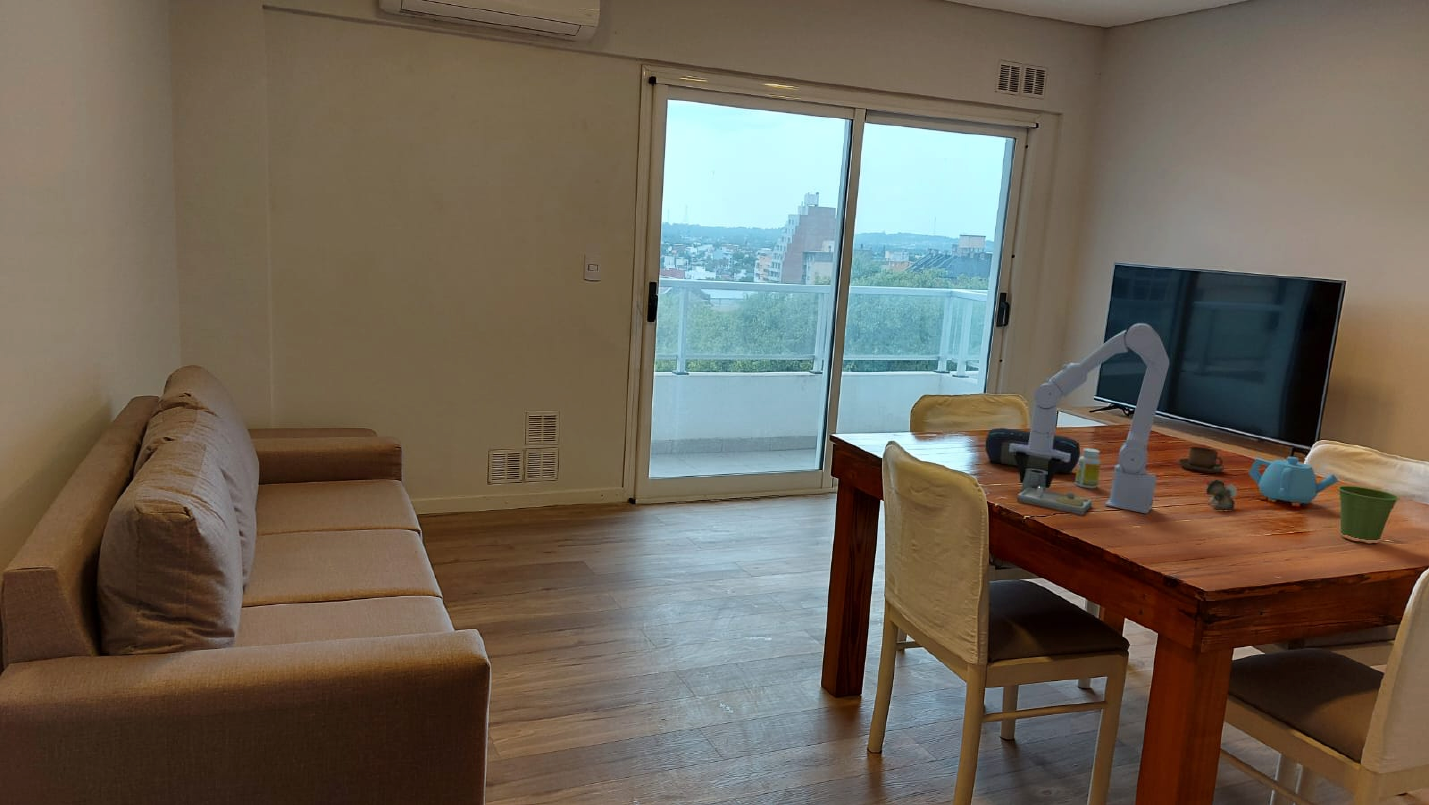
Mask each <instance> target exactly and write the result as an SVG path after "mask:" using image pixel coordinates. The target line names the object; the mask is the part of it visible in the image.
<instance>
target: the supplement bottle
mask: <svg viewBox="0 0 1429 805" xmlns="http://www.w3.org/2000/svg"><path fill="white" fill-rule="evenodd" d="M1099 456H1100V450H1098V449H1094V448H1087V447H1086V448H1083V449H1082V455H1081V456H1080V457H1079V460H1078V463H1077V469H1076V474H1075V482H1074V484H1075V485H1076V486H1078V487H1081V488H1085V489H1096V488H1097V487H1098V481H1099V475H1100V469H1101V463H1102V462H1101V460H1100V458H1098V457H1099Z"/></svg>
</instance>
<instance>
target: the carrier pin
mask: <svg viewBox="0 0 1429 805" xmlns="http://www.w3.org/2000/svg"><path fill="white" fill-rule="evenodd" d="M1043 489H1044V487H1041V486H1038V488H1037V495H1036V497H1038V498H1042V496H1043Z"/></svg>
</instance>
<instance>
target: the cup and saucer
mask: <svg viewBox="0 0 1429 805" xmlns="http://www.w3.org/2000/svg"><path fill="white" fill-rule="evenodd" d="M1218 454H1219V451H1218V450H1215V449H1212V448H1207V447H1202V446H1191V447H1190V448H1189V452H1188V458H1181V459H1179V460H1178V462H1179V464H1180V465H1181V466H1182V467H1184V468H1186V469H1188V470H1192V471H1194V472H1199V473H1200V472H1201V473H1209V474H1210V473H1211V474H1213V473H1215V474H1216V473H1221V472H1222V471H1224V470H1225V466H1224V465H1223V459H1222V457H1220V456H1218ZM1217 459H1218V460H1219V463H1217Z"/></svg>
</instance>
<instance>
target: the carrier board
mask: <svg viewBox="0 0 1429 805" xmlns="http://www.w3.org/2000/svg"><path fill="white" fill-rule="evenodd" d="M1036 495H1037V489H1035V488H1030V487H1028V488H1027V489H1025V490H1022V491H1021V492H1020V493H1018V494H1017V498H1016V501H1017V502H1019V503H1024V504H1027V505H1032V506H1038V507H1043V508H1046V509H1053V510H1057V511H1063V512H1067V513H1072V514H1076V515H1081V516H1082V515H1083V514H1085V513H1086V512H1087V511H1088V510H1089V509H1090V508H1091V507H1092V503H1093V500H1092V499H1089V498H1084V497H1080V496H1077V495H1076V494H1075V493H1071V492H1068V493H1066V494H1065V493H1061V492H1055V491H1050V490H1047V491H1045V490H1043V496H1042V498H1038V497H1036Z"/></svg>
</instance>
